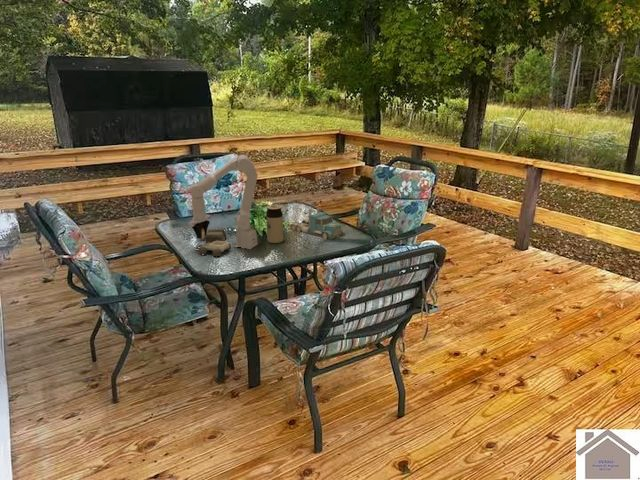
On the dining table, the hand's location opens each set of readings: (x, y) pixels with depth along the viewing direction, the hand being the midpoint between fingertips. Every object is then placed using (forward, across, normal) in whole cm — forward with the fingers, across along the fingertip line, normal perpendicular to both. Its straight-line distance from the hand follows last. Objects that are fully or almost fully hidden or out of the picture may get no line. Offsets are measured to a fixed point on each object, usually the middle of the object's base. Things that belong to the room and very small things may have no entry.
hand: (201, 237), depth 226 cm
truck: (+7, -44, +42) cm, 61 cm away
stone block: (+7, -13, 0) cm, 14 cm away
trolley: (+6, +2, +6) cm, 9 cm away
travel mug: (+7, -23, +27) cm, 37 cm away
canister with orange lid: (+2, 0, 0) cm, 2 cm away
